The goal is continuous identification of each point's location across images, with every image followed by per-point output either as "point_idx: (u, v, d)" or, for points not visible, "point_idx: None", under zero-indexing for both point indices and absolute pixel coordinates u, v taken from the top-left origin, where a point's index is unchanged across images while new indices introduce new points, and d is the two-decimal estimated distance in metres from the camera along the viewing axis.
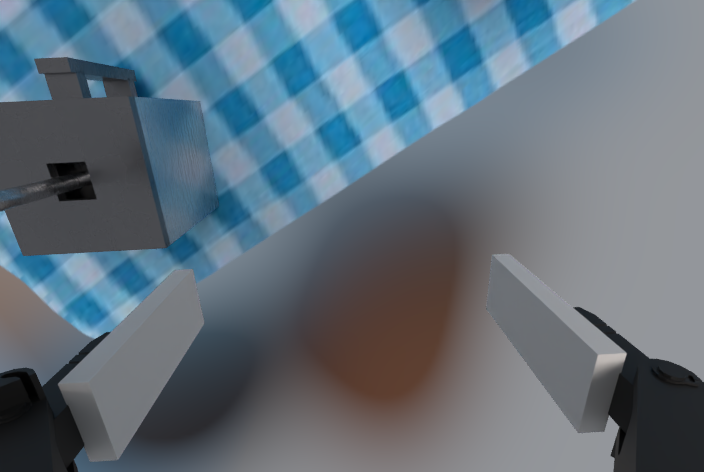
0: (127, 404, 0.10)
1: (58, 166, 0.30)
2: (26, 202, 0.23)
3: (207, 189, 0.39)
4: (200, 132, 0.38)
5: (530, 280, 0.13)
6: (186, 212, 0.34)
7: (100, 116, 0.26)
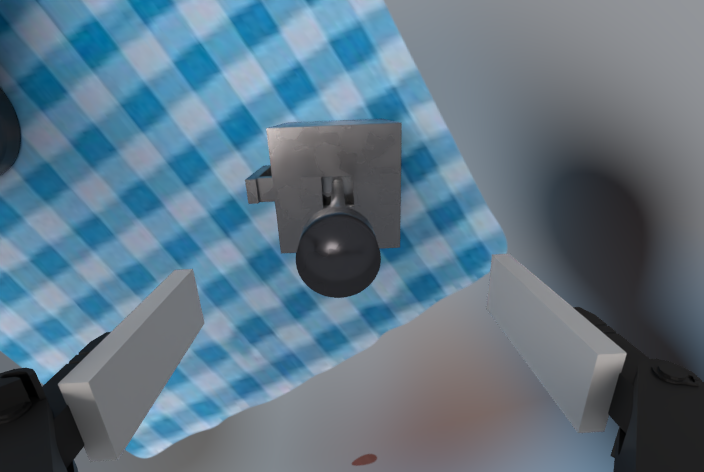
0: (127, 404, 0.10)
1: None
2: (343, 200, 0.28)
3: None
4: None
5: (530, 280, 0.13)
6: None
7: (283, 155, 0.31)
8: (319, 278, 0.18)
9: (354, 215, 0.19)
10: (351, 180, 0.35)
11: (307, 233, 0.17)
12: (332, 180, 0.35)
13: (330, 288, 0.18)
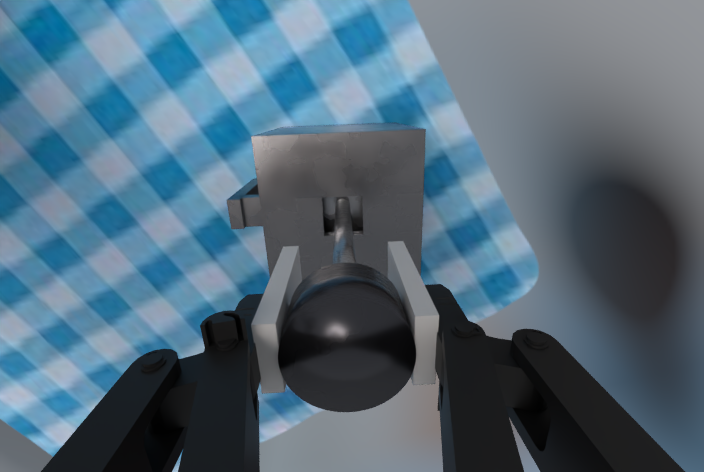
0: None
1: None
2: (350, 232, 0.21)
3: (373, 124, 0.34)
4: (312, 126, 0.35)
5: (404, 262, 0.15)
6: None
7: (274, 170, 0.24)
8: (316, 385, 0.11)
9: (373, 282, 0.12)
10: (359, 199, 0.29)
11: (296, 319, 0.10)
12: (336, 199, 0.28)
13: (334, 399, 0.12)
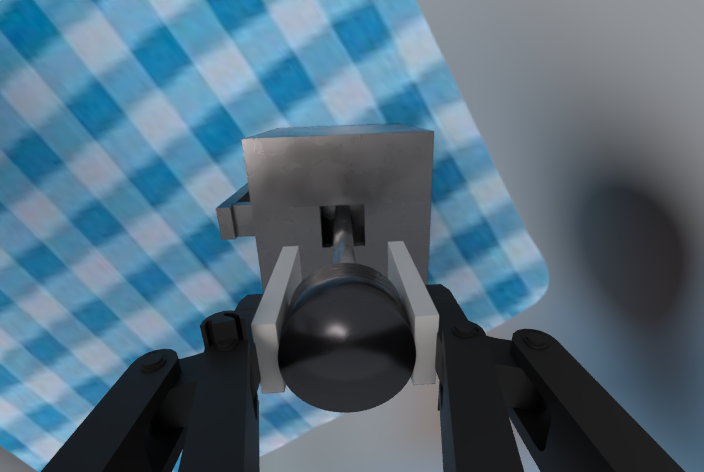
0: None
1: (333, 240, 0.30)
2: (350, 232, 0.21)
3: (375, 125, 0.32)
4: (309, 127, 0.33)
5: (404, 262, 0.15)
6: (394, 128, 0.26)
7: (267, 176, 0.22)
8: (316, 385, 0.11)
9: (373, 282, 0.12)
10: None
11: (296, 320, 0.10)
12: None
13: (334, 399, 0.12)
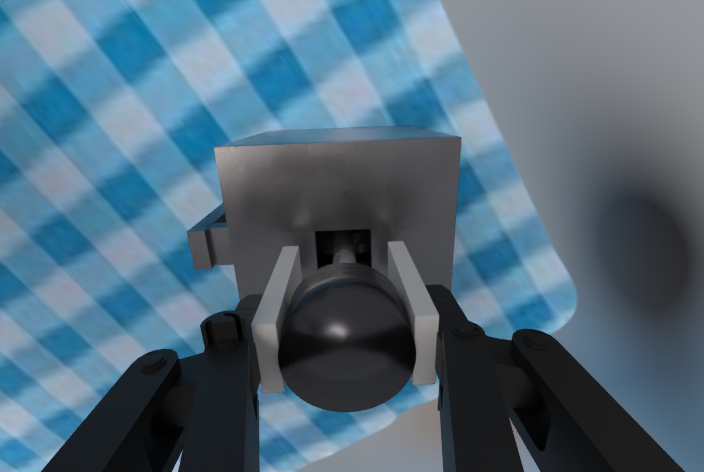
0: None
1: (333, 240, 0.30)
2: (350, 232, 0.21)
3: None
4: (305, 130, 0.28)
5: (404, 262, 0.15)
6: (407, 132, 0.22)
7: (247, 194, 0.17)
8: (316, 385, 0.11)
9: (373, 282, 0.12)
10: None
11: (296, 319, 0.10)
12: None
13: (334, 399, 0.12)
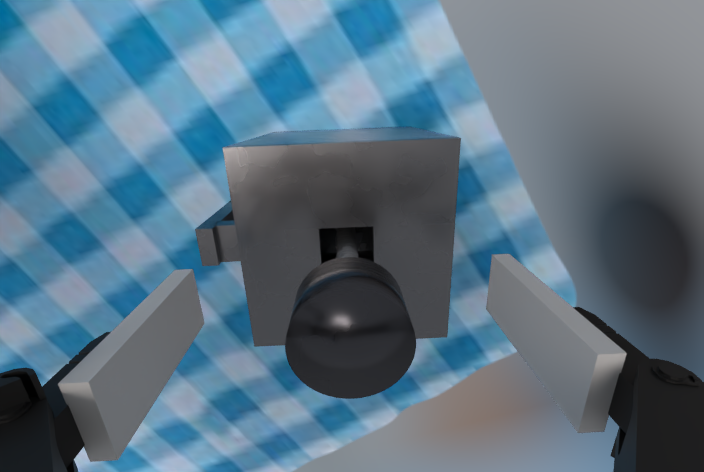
0: (127, 404, 0.10)
1: (336, 239, 0.30)
2: (353, 230, 0.22)
3: (384, 129, 0.28)
4: (309, 131, 0.29)
5: (530, 280, 0.13)
6: (409, 133, 0.22)
7: (254, 193, 0.18)
8: (321, 372, 0.12)
9: (375, 275, 0.12)
10: None
11: (303, 309, 0.11)
12: None
13: (338, 386, 0.12)
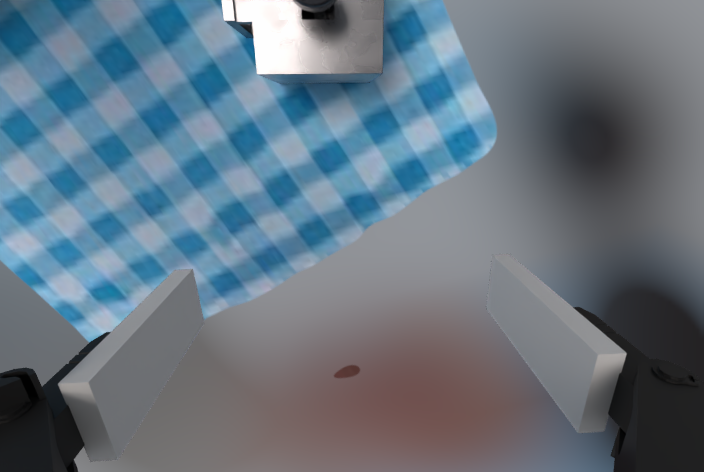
0: (127, 404, 0.10)
1: None
2: None
3: None
4: None
5: (530, 280, 0.13)
6: None
7: None
8: None
9: None
10: None
11: None
12: None
13: None
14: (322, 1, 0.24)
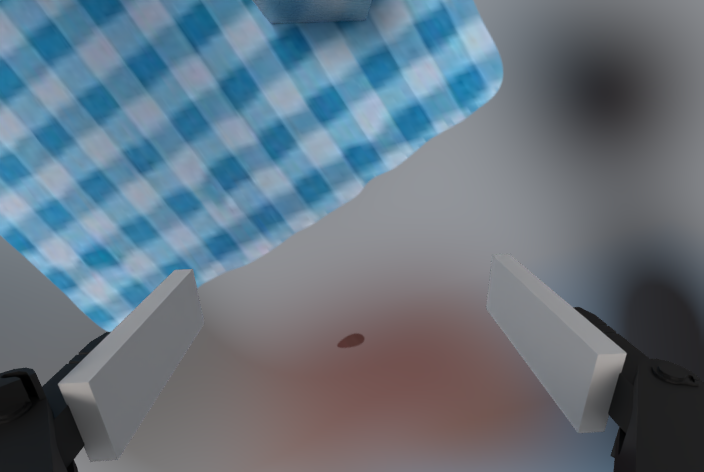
0: (127, 404, 0.10)
1: None
2: None
3: None
4: None
5: (530, 280, 0.13)
6: None
7: None
8: None
9: None
10: None
11: None
12: None
13: None
14: None
